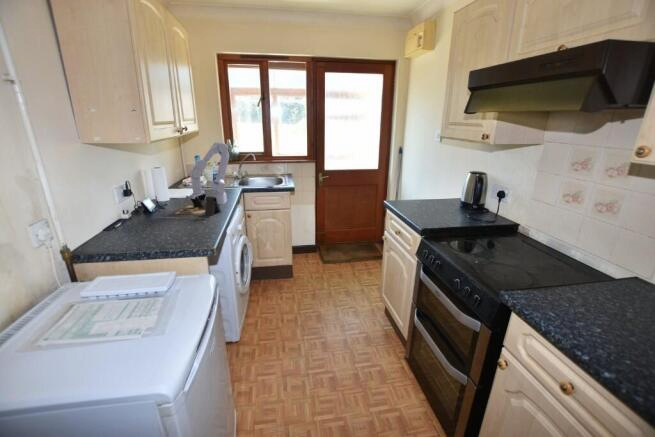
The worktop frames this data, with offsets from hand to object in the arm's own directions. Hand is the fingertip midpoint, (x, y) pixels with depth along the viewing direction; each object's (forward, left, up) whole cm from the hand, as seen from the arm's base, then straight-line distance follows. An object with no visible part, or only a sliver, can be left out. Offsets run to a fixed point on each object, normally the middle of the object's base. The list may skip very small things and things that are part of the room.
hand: (199, 206), depth 205 cm
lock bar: (0, 0, -1) cm, 1 cm away
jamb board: (+5, -1, -2) cm, 6 cm away
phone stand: (+12, +15, -2) cm, 20 cm away
